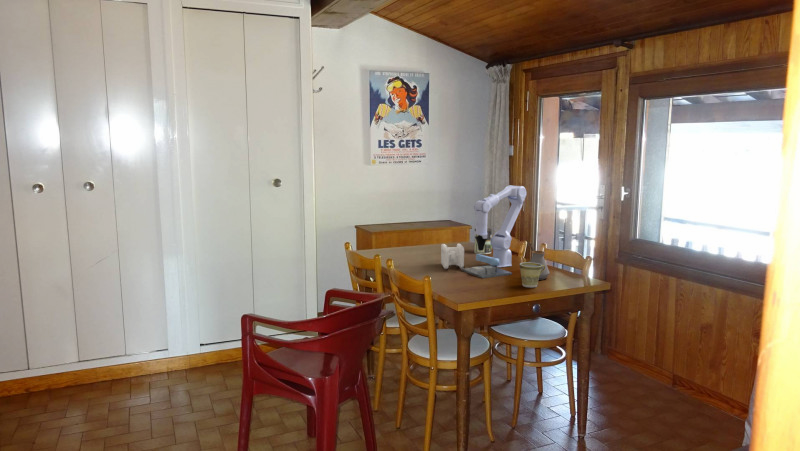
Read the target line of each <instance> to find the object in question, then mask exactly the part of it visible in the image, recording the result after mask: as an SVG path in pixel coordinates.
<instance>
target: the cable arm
mask: <svg viewBox="0 0 800 451" xmlns="http://www.w3.org/2000/svg"><path fill="white" fill-rule="evenodd" d="M475 260H476V261H479V262H480V263H481V262H482V263H486V264H488V265H489V264H492V265H494V266H498V265H499V259H498V258H493V256H488V255H486V254H477V253H475ZM492 265H491V266H492Z"/></svg>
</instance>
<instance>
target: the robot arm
mask: <svg viewBox="0 0 800 451" xmlns="http://www.w3.org/2000/svg"><path fill="white" fill-rule="evenodd" d="M527 194H528V193H527V190H526V188H525V186H523V185H512V184H511V185H510V184H509V185H507V186H505V187H504V189H502V190H501V191H499V192H497V194H495V193H494V194H493V193H490V194H488V195H489V196H487V197H484V198H483V199H482V200H477V201H476V202H475V204H474V206H473V209H474V211H475V215H476V216H475V217H476V218H475V229H476V232H475V231H474V232H473V235H474V239H475V238H476V241H477V244H478V250H483V249H484V245H485V242H486V240H487V228H488V215H489V214H488V213H489V212H490V210H491V209H492V208H493V207H495V206H497V205H498V204H499V202H500V201H501V200H504V199H505V198H507V199H508V201H509V202H510V203H511V205H510V207H509V210H508V212H507V213H506V216H505V218H504V221H503V222H502V224H501V227H500V229H499V230H497V231H496V232H494V234H493V235H492V238H491V240H490V244H491V249H492V252H493V253H492V258H498V259H499V265H498V266H497V268H506V267H512V266H513V265H512V251H511V249H510V247H511V243H512V242H511V241H512V240H513V238H512V236H511V231H512V230H513V227H514V226H515V223H516V220H517V218H518V217H519V214H520V212H521V210H522V207H523V204H524V201H525V199H526V197H527ZM475 234H477V235H478V236H475ZM488 265H490V266H493V265H492V264H488Z"/></svg>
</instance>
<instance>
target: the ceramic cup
mask: <svg viewBox="0 0 800 451" xmlns="http://www.w3.org/2000/svg"><path fill="white" fill-rule="evenodd" d="M542 266H544V265H541V264H539V263H533V262H530V261H528V262H525V261H524V262H520V263H519V270H520V278H521V284H522V287H525V288H531V289H532V288H537V287H538V283H539V275H540V274H541V273H542V272H543V271H544V270H545V266H544V269H543V270H542V271H541V269H542Z"/></svg>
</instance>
